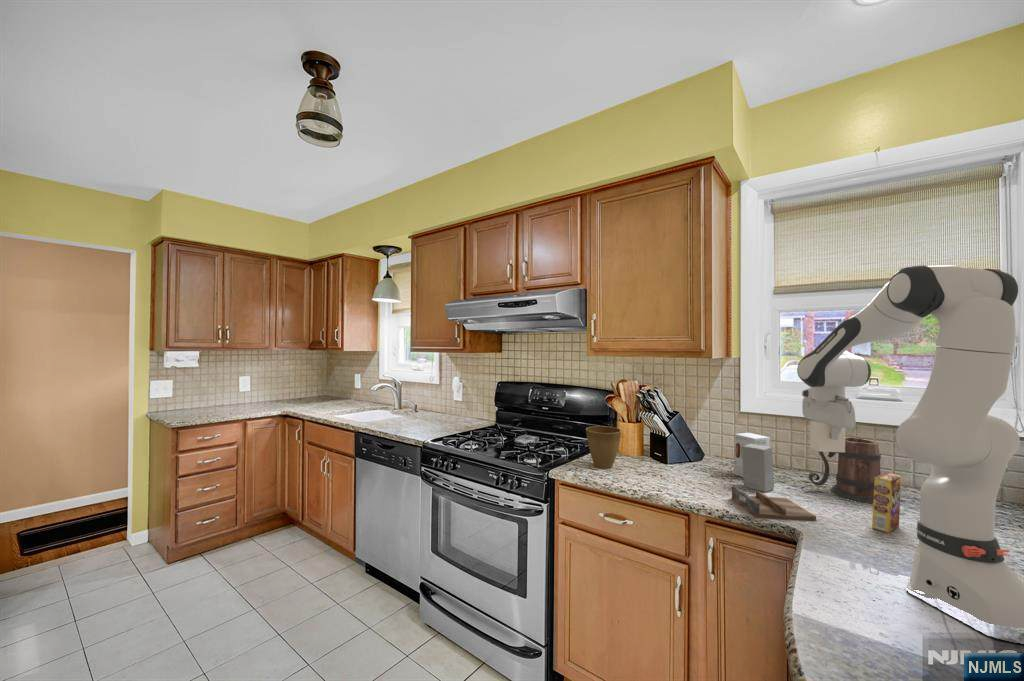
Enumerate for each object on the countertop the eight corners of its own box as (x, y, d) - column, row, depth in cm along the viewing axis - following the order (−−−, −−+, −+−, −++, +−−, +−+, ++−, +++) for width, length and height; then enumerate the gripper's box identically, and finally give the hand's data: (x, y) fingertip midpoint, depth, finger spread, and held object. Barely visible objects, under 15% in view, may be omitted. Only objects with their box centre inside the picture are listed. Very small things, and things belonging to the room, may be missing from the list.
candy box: (890, 533, 122) (891, 480, 122) (871, 528, 126) (872, 476, 126) (900, 527, 127) (901, 475, 127) (882, 521, 130) (883, 471, 131)
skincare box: (774, 490, 158) (775, 447, 158) (763, 493, 154) (764, 449, 154) (751, 483, 165) (751, 442, 165) (740, 486, 161) (741, 444, 161)
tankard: (875, 491, 159) (876, 437, 159) (899, 507, 143) (900, 447, 143) (802, 483, 166) (802, 432, 167) (817, 497, 150) (818, 441, 151)
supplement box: (732, 474, 176) (733, 433, 177) (747, 471, 180) (748, 432, 181) (754, 481, 168) (755, 438, 168) (769, 478, 172) (770, 436, 172)
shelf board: (816, 520, 130) (816, 505, 130) (754, 517, 131) (754, 503, 131) (785, 501, 146) (786, 488, 146) (730, 498, 147) (731, 486, 147)
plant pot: (600, 459, 194) (600, 424, 194) (627, 467, 183) (628, 430, 183) (578, 465, 185) (578, 428, 185) (605, 473, 173) (606, 434, 173)
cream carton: (845, 452, 135) (845, 424, 135) (818, 451, 136) (819, 423, 136) (834, 448, 140) (835, 421, 140) (809, 447, 141) (809, 420, 141)
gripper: (862, 398, 128) (861, 445, 127) (817, 391, 148) (817, 431, 148) (840, 398, 128) (839, 444, 128) (798, 390, 148) (798, 430, 148)
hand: (827, 437), depth 138 cm, fingers closed on cream carton, 5 cm apart
